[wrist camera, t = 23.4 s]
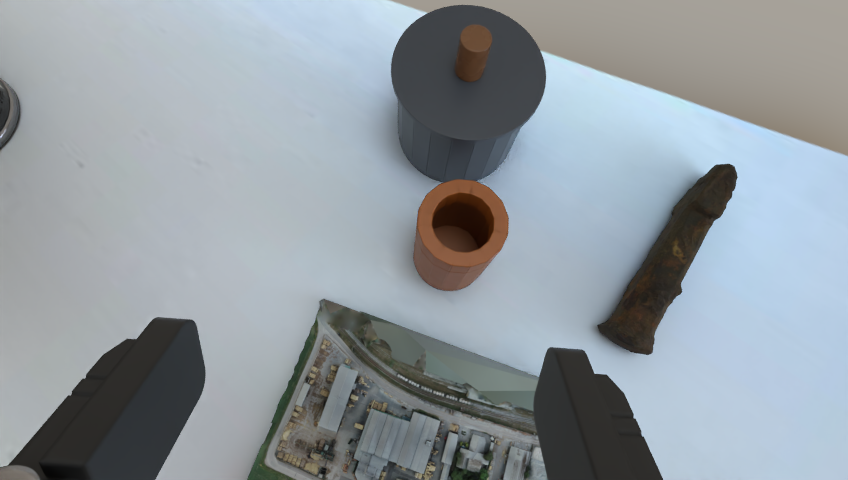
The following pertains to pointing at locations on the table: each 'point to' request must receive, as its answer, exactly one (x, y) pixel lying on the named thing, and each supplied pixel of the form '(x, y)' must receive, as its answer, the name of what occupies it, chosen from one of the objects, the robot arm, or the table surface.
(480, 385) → the model
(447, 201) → the jar
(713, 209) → the hand tool
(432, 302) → the table surface
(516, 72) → the tin lid
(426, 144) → the tin
